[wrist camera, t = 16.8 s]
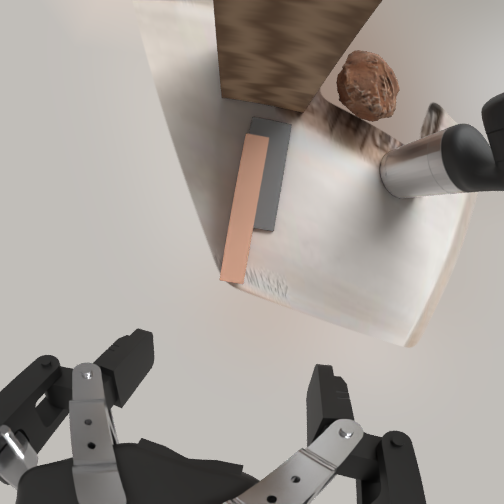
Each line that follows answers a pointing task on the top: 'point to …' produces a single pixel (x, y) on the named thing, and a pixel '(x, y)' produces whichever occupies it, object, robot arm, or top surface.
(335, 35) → the stand
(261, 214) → the mat
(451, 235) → the top surface
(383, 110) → the decorative rock
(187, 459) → the robot arm
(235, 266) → the tan wooden bar
